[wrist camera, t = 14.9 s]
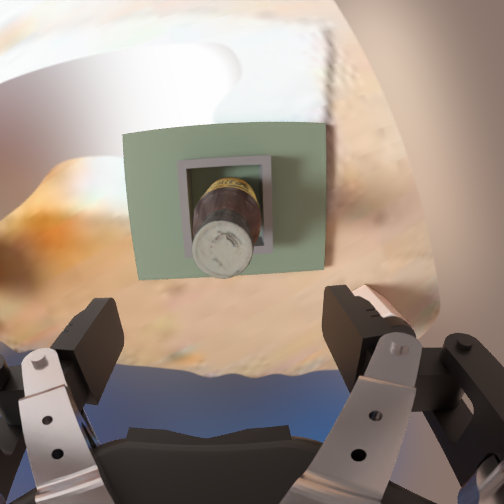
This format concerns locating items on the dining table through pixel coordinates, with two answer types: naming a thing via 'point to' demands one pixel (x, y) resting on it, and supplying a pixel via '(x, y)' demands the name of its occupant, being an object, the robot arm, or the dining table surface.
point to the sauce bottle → (225, 228)
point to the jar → (385, 310)
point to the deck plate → (221, 166)
